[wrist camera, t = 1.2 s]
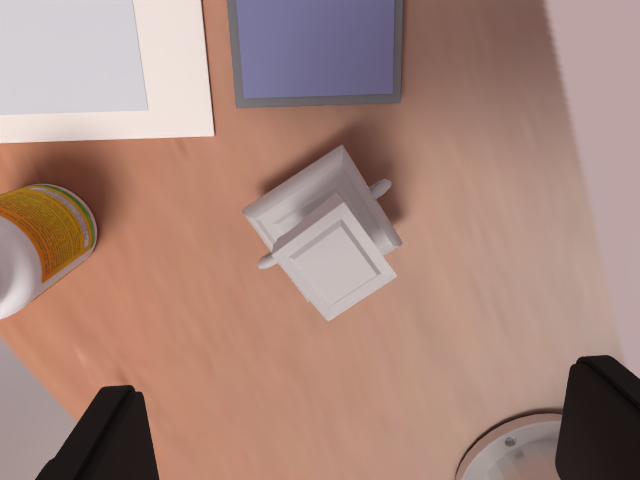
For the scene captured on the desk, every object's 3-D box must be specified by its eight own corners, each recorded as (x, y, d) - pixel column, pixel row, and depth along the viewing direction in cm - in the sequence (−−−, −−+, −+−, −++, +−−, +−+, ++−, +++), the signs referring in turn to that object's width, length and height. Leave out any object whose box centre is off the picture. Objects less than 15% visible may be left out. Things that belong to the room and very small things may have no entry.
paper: (184, -164, 21) (183, -167, 21) (214, 135, 25) (214, 136, 25) (-165, -163, 20) (-170, -166, 20) (-73, 145, 25) (-77, 145, 24)
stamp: (353, 127, 26) (381, 140, 18) (409, 218, 28) (456, 266, 19) (229, 211, 27) (202, 259, 19) (291, 293, 29) (290, 368, 21)
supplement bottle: (29, 163, 25) (-125, 200, 16) (115, 214, 26) (19, 276, 17) (-9, 238, 26) (-172, 312, 17) (75, 283, 28) (-35, 375, 18)
